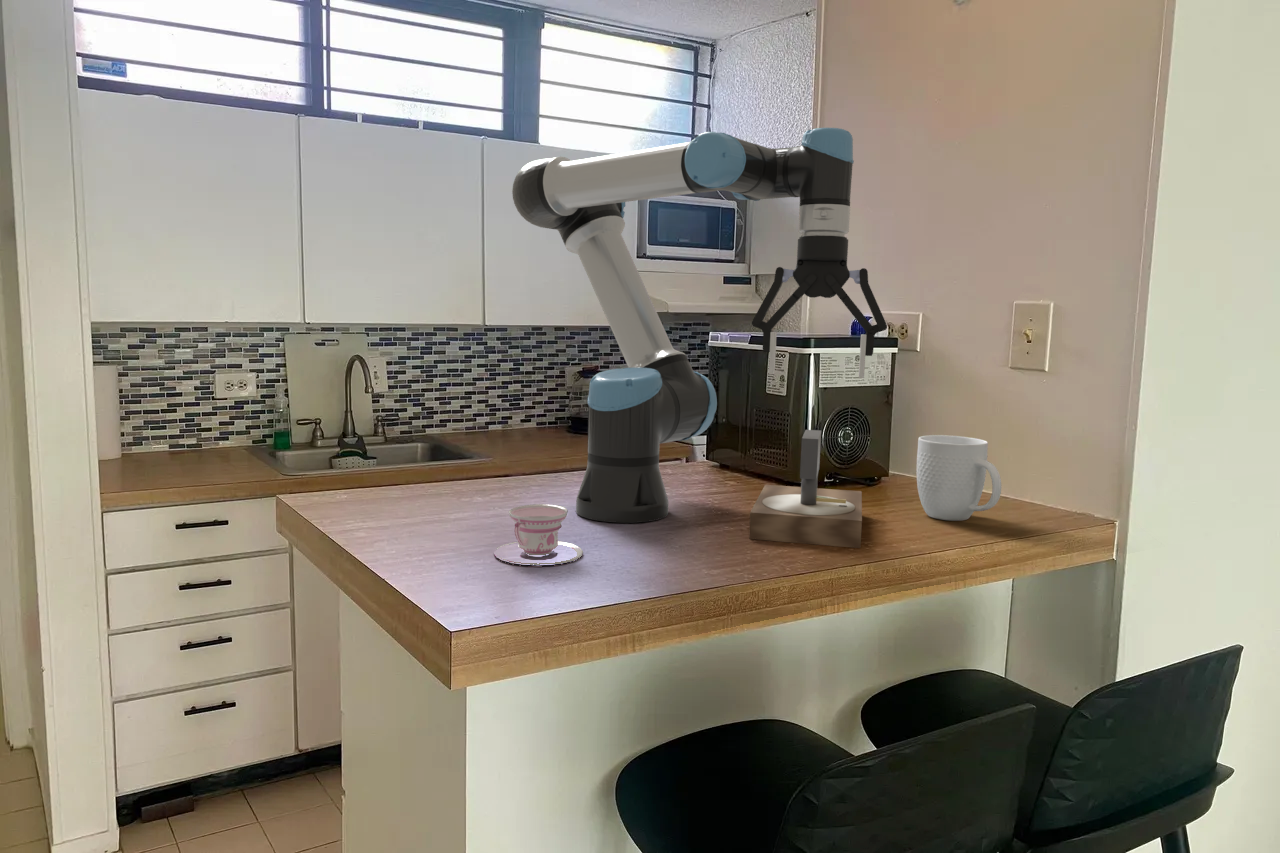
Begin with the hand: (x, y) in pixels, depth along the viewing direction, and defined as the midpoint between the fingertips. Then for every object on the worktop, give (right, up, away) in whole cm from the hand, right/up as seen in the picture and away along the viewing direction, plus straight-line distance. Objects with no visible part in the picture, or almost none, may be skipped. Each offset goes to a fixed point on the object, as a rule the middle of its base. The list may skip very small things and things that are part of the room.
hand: (816, 375), depth 140 cm
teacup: (-41, -26, -17) cm, 51 cm away
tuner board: (-1, -24, +3) cm, 24 cm away
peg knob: (+1, -20, -1) cm, 20 cm away
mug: (+25, -23, +11) cm, 36 cm away
